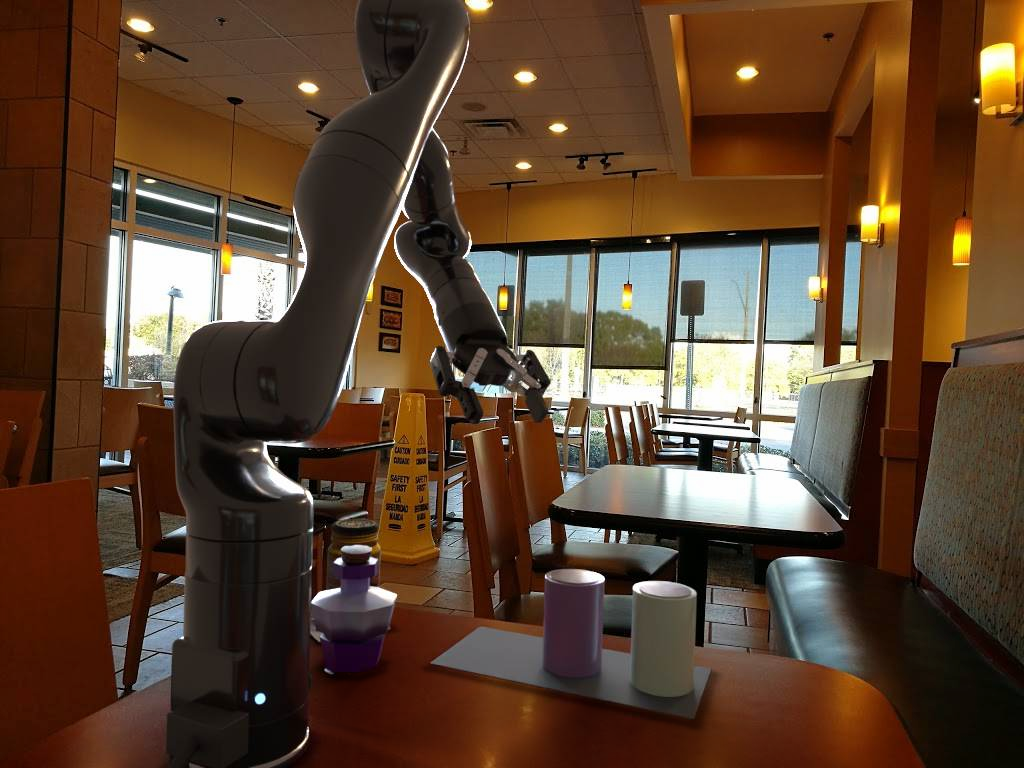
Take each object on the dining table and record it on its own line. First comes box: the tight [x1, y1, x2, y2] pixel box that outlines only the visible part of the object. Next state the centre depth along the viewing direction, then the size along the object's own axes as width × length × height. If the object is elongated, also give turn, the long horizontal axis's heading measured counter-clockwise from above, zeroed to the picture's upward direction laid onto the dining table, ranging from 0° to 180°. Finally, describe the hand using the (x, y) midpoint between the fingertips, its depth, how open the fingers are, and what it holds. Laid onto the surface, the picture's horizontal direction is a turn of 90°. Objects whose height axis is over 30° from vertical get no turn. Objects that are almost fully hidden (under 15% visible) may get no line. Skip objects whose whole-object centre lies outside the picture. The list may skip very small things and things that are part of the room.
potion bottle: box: [311, 545, 398, 676], centre depth 73 cm, size 9×9×12 cm
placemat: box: [429, 625, 713, 720], centre depth 73 cm, size 12×26×1 cm, turn 67°
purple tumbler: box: [542, 568, 606, 678], centre depth 73 cm, size 6×6×9 cm
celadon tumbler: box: [629, 580, 698, 697], centre depth 70 cm, size 6×6×9 cm
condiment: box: [310, 518, 392, 643], centre depth 84 cm, size 7×8×12 cm
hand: (510, 419), depth 84 cm, fingers open, 8 cm apart
